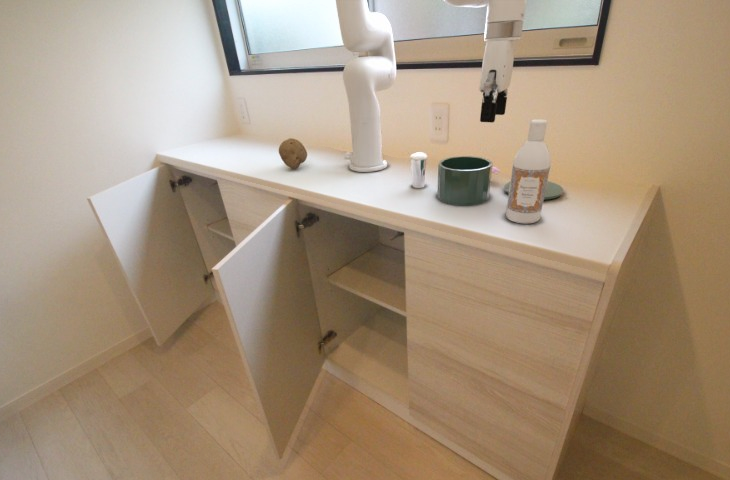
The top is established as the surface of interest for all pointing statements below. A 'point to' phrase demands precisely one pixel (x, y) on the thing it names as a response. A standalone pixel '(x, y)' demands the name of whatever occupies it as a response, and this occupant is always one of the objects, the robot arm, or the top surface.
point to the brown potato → (292, 153)
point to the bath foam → (529, 177)
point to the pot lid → (550, 192)
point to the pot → (464, 180)
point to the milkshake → (418, 169)
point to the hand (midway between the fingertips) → (492, 118)
